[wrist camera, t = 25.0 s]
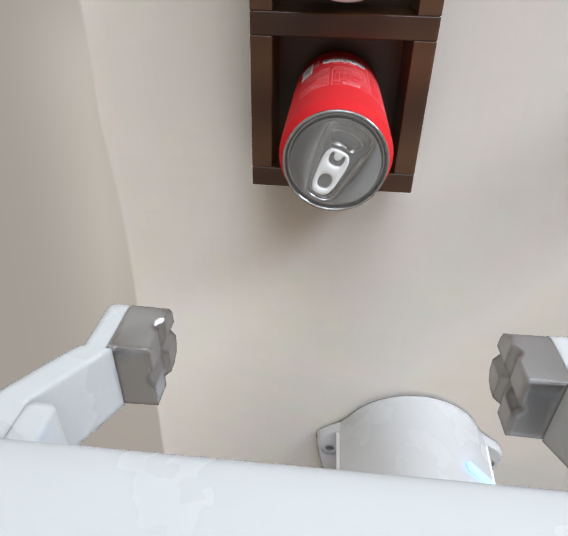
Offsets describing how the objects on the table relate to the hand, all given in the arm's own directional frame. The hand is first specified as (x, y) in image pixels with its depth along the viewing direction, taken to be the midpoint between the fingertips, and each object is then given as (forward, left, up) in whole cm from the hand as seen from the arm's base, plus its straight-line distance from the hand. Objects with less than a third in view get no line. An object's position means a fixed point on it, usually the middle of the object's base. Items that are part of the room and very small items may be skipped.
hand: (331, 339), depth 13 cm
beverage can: (0, 0, -24) cm, 24 cm away
